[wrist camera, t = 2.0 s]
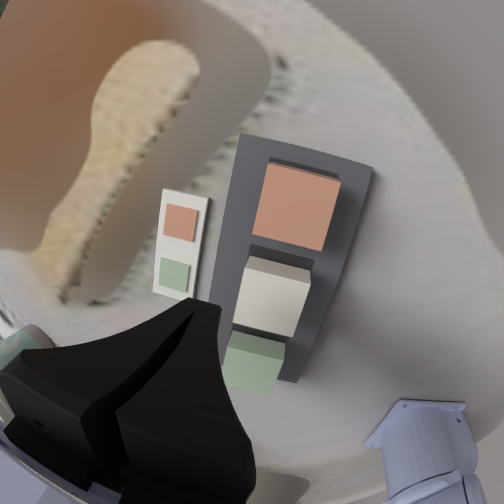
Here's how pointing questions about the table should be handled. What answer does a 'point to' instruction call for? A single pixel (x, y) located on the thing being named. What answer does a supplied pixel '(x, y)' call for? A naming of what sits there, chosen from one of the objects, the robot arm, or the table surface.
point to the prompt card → (179, 243)
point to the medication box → (3, 5)
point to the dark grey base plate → (247, 244)
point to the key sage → (252, 363)
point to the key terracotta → (296, 206)
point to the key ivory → (271, 296)
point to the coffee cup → (11, 348)
